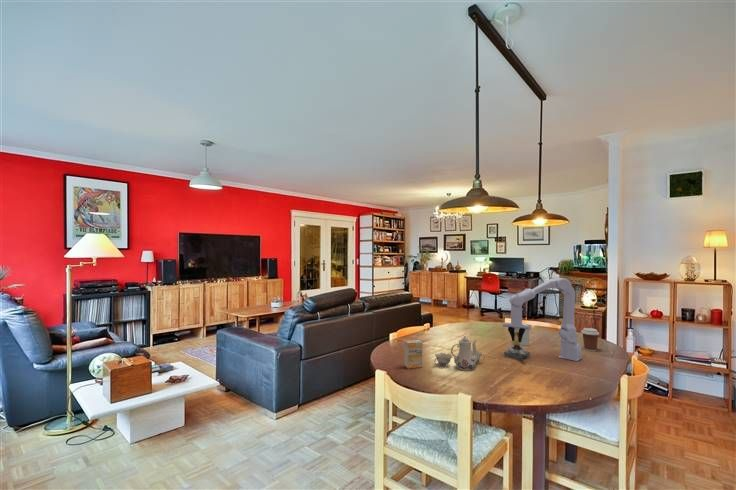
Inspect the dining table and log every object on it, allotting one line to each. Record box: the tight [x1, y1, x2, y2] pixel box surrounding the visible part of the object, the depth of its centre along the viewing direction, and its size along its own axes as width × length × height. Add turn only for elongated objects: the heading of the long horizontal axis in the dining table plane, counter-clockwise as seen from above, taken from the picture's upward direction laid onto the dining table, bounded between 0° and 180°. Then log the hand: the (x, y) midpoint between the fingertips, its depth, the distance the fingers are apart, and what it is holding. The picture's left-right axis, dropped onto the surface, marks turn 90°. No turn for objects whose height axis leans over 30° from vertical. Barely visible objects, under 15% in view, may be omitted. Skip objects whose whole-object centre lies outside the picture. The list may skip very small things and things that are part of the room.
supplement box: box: [404, 339, 423, 370], centre depth 184 cm, size 8×5×13 cm, turn 105°
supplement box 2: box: [514, 322, 530, 347], centre depth 225 cm, size 7×7×13 cm
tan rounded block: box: [513, 331, 521, 348], centre depth 200 cm, size 3×5×9 cm, turn 142°
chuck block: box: [503, 350, 531, 361], centre depth 200 cm, size 10×10×2 cm
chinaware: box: [434, 335, 485, 372], centre depth 185 cm, size 28×17×17 cm, turn 111°
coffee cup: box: [580, 327, 600, 352], centre depth 212 cm, size 9×9×12 cm
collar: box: [507, 345, 527, 360], centre depth 195 cm, size 17×7×2 cm, turn 173°
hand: (516, 341), depth 200 cm, fingers closed on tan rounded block, 3 cm apart
